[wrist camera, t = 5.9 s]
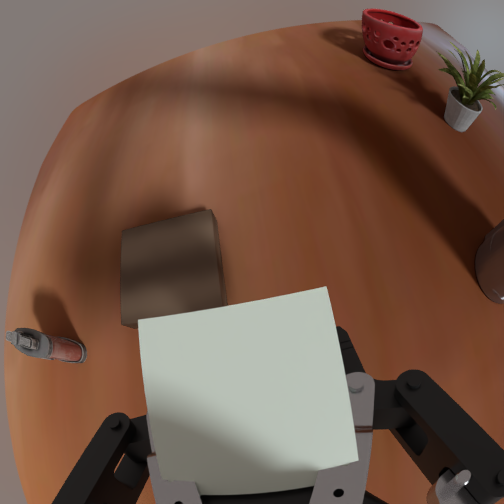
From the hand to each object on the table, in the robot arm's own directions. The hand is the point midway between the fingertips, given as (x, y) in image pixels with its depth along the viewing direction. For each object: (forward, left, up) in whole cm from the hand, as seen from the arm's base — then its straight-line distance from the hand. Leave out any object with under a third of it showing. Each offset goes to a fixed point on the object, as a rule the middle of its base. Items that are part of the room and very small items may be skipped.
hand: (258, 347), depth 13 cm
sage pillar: (+1, +1, -5) cm, 5 cm away
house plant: (-49, +17, -18) cm, 55 cm away
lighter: (+14, -25, -18) cm, 34 cm away
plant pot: (-63, 0, -18) cm, 66 cm away
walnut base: (-3, -15, -18) cm, 23 cm away
